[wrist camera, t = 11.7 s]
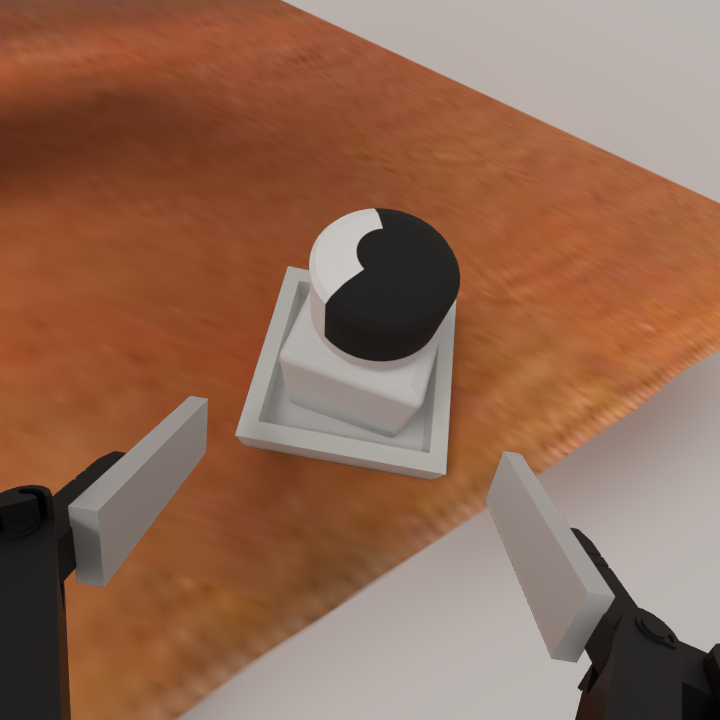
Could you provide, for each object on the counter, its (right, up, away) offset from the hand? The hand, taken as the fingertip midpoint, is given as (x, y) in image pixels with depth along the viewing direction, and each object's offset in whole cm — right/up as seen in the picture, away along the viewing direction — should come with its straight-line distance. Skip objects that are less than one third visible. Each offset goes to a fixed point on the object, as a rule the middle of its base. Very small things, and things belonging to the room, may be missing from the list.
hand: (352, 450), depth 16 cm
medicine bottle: (0, +3, +9) cm, 9 cm away
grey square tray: (0, +3, +9) cm, 10 cm away
